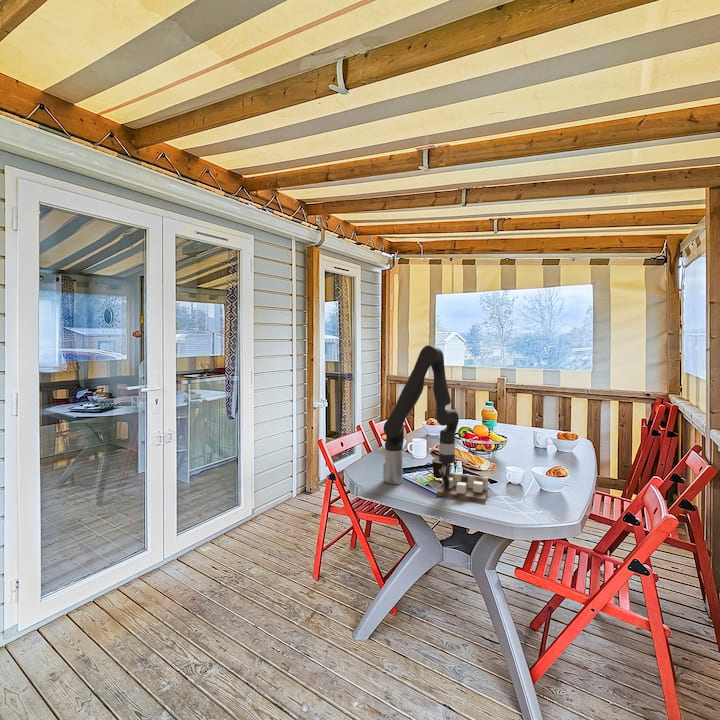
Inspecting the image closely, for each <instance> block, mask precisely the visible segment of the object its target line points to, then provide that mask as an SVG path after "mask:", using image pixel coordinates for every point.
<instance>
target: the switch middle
mask: <svg viewBox="0 0 720 720" xmlns="http://www.w3.org/2000/svg"><path fill="white" fill-rule="evenodd" d="M466 490H467V483H464V482H458V483H457V488H456V493H461V494H465V493H466Z"/></svg>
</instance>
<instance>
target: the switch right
mask: <svg viewBox="0 0 720 720" xmlns="http://www.w3.org/2000/svg"><path fill="white" fill-rule="evenodd" d="M482 491H483V482H481V481H474V483H473V492H479V493H482Z"/></svg>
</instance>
